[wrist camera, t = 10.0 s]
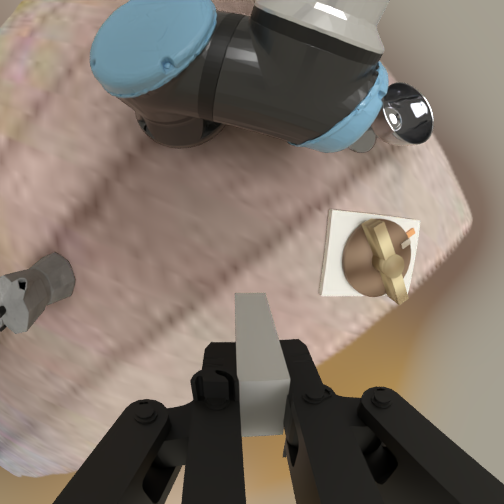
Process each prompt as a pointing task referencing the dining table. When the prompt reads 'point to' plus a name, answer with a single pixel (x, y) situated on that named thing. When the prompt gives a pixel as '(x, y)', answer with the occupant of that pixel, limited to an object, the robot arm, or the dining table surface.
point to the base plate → (336, 239)
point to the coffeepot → (33, 291)
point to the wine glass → (399, 119)
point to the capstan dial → (378, 259)
